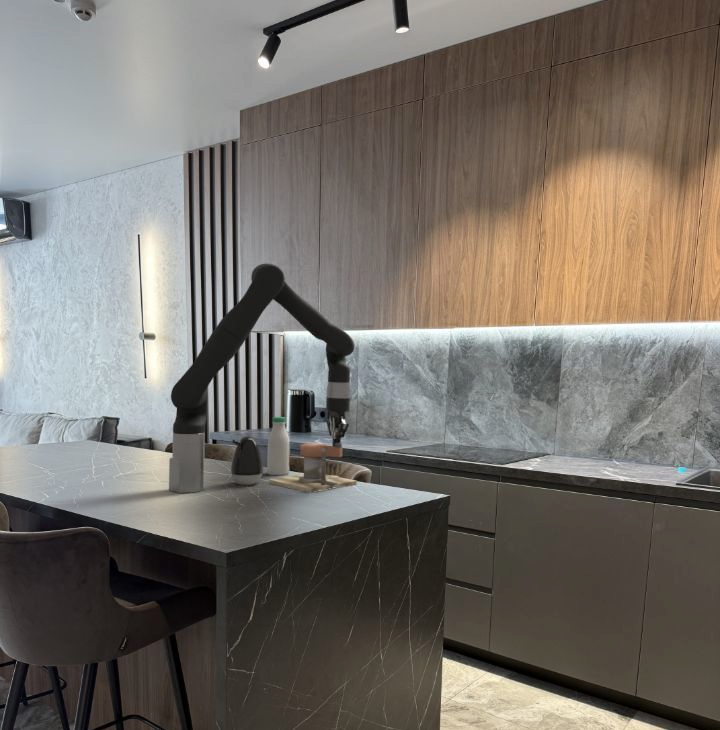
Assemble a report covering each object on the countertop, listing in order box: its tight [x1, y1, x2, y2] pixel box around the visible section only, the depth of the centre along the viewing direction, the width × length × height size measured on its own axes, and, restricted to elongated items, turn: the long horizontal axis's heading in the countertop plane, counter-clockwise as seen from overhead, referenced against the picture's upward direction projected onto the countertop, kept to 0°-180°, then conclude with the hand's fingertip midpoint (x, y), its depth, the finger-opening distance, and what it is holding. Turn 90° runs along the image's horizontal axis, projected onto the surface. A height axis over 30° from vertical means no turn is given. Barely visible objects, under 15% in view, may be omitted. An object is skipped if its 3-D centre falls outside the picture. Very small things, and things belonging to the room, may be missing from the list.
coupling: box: [299, 442, 344, 458], centre depth 190 cm, size 14×8×4 cm, turn 64°
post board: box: [268, 448, 358, 493], centre depth 191 cm, size 20×20×12 cm
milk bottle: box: [266, 416, 291, 476], centre depth 209 cm, size 8×8×20 cm
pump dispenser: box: [230, 436, 264, 486], centre depth 189 cm, size 10×10×15 cm
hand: (336, 450), depth 191 cm, fingers closed
